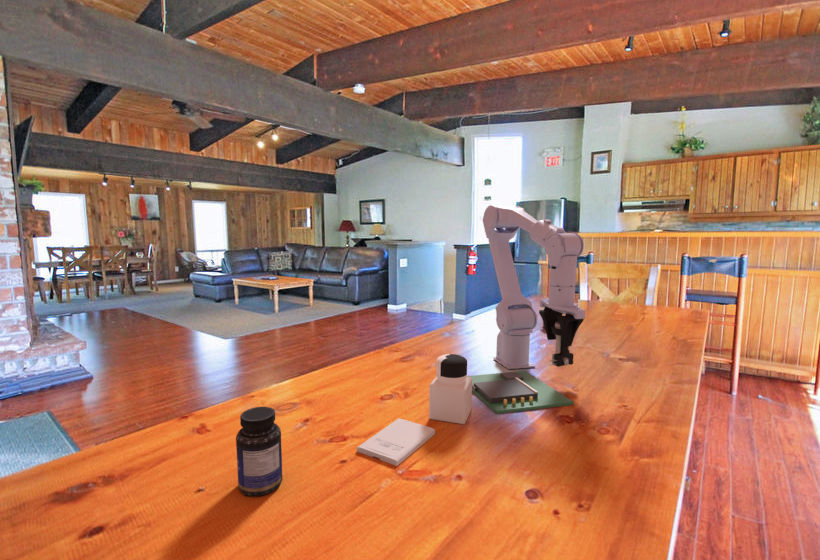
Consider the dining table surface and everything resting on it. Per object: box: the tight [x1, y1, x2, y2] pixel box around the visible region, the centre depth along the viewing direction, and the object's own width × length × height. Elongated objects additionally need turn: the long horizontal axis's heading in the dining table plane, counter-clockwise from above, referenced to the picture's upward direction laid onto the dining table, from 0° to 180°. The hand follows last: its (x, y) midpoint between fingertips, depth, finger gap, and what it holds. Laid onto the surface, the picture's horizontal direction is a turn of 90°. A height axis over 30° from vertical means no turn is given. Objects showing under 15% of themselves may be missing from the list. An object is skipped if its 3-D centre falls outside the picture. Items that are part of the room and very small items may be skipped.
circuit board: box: [467, 370, 575, 415], centre depth 98 cm, size 20×18×2 cm
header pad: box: [474, 377, 538, 404], centre depth 95 cm, size 9×11×2 cm
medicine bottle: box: [428, 353, 473, 425], centre depth 85 cm, size 7×7×12 cm
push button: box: [548, 322, 574, 368], centre depth 100 cm, size 7×5×10 cm
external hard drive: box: [356, 418, 436, 467], centre depth 75 cm, size 2×8×12 cm
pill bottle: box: [235, 406, 283, 497], centre depth 61 cm, size 6×6×11 cm
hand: (559, 342), depth 100 cm, fingers closed on push button, 5 cm apart
